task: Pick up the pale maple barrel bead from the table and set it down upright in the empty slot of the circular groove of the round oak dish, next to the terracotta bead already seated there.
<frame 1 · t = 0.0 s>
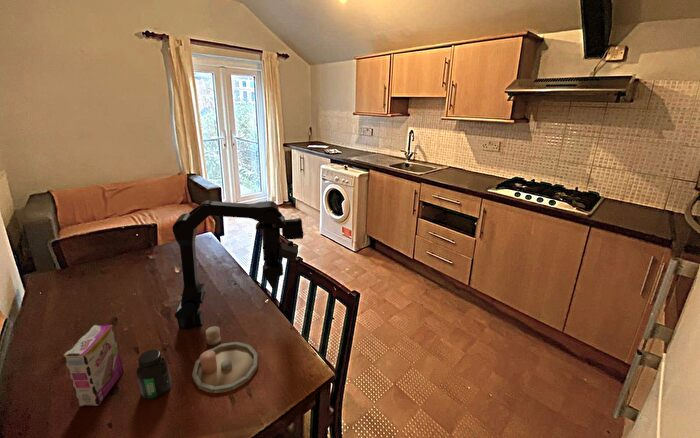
hand: (273, 281, 112), 15 cm above the table, fingers open, 9 cm apart
supplement bottle: (157, 391, 86), on the table
maple bead: (214, 343, 103), on the table
candy bar box: (104, 388, 86), on the table
terracotta bead: (209, 369, 92), point 1 cm above the table, touching ring dish
ring dish: (226, 369, 93), on the table
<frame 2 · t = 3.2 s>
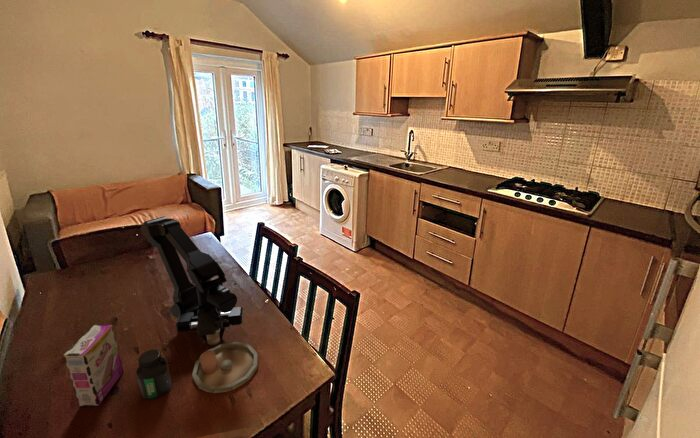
hand: (214, 340, 103), 1 cm above the table, fingers closed on maple bead, 4 cm apart
maple bead: (214, 343, 103), on the table, touching gripper
everything else where it was.
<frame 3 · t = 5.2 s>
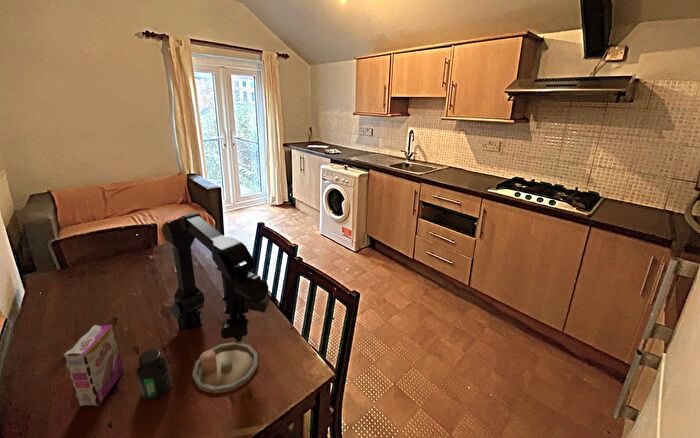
hand: (240, 335, 91), 11 cm above the table, fingers closed on maple bead, 4 cm apart
maple bead: (240, 338, 91), point 10 cm above the table, touching gripper
everything else where it was.
when the fingers open (3 cm above the table, at t = 7.4 s): maple bead stays where it is, resting on ring dish.
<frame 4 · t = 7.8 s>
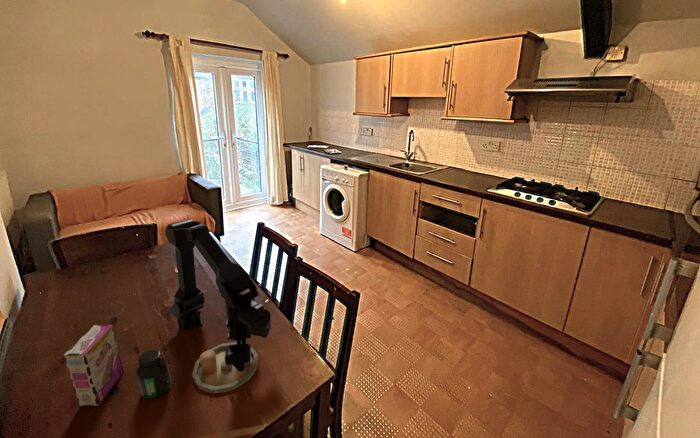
hand: (242, 359, 93), 3 cm above the table, fingers open, 9 cm apart
maple bead: (243, 364, 94), point 1 cm above the table, touching ring dish
everything else where it was.
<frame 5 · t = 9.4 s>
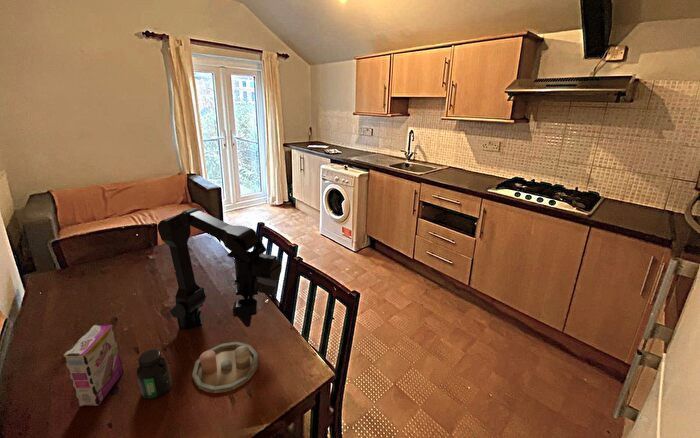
hand: (249, 316, 98), 12 cm above the table, fingers open, 9 cm apart
nothing on the table moved.
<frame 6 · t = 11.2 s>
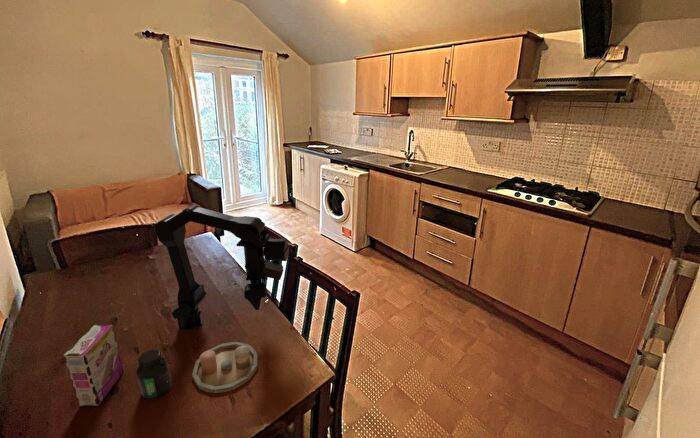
hand: (257, 301, 105), 12 cm above the table, fingers open, 9 cm apart
nothing on the table moved.
at the end: maple bead 0.1 cm from the target spot on the ring dish, point 1.0 cm above the ring dish's base; maple bead tilted 0°; maple bead touching ring dish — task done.
